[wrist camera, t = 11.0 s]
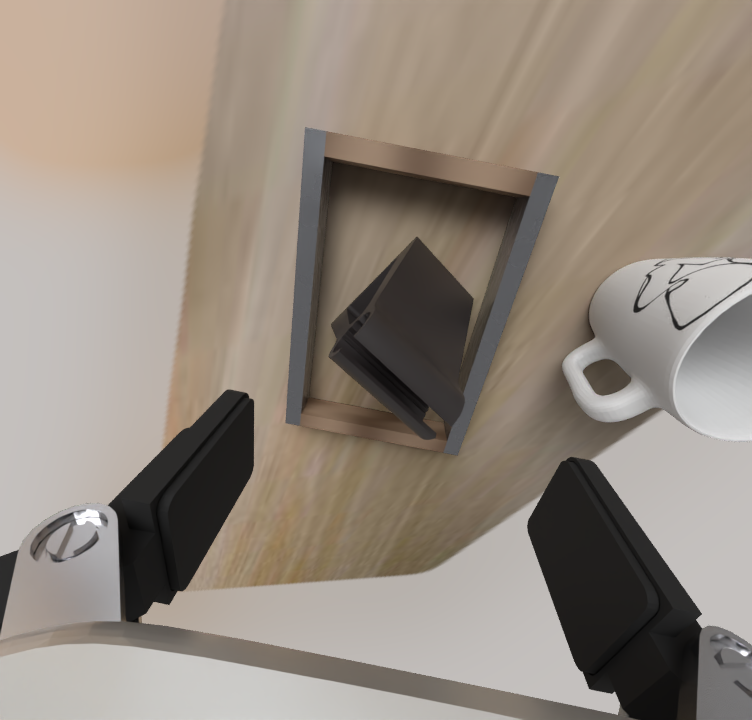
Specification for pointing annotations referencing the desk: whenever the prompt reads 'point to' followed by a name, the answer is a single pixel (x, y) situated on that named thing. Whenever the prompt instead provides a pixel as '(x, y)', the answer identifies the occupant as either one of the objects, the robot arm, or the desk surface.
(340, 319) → the phone stand
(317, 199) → the wooden frame
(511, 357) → the desk surface
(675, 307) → the mug
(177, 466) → the robot arm
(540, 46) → the desk surface
